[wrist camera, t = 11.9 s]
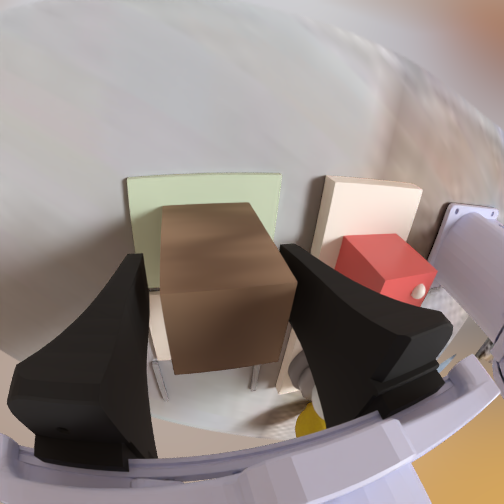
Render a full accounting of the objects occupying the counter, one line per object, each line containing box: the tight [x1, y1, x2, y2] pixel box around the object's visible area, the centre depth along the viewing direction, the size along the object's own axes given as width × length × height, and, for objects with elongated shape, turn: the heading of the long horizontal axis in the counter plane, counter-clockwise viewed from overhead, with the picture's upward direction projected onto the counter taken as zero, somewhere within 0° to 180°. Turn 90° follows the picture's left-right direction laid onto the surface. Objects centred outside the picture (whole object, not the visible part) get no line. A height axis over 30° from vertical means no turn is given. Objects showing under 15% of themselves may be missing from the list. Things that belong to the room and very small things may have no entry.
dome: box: [298, 367, 324, 420], centre depth 19 cm, size 6×6×5 cm
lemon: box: [295, 402, 326, 438], centre depth 25 cm, size 6×6×8 cm
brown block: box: [160, 202, 297, 375], centre depth 11 cm, size 4×4×6 cm
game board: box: [127, 173, 423, 401], centre depth 18 cm, size 16×19×2 cm
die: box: [334, 233, 438, 307], centre depth 15 cm, size 4×4×4 cm
